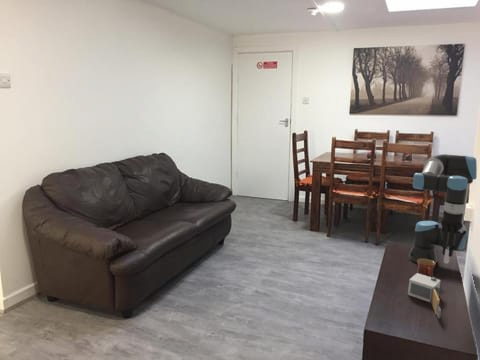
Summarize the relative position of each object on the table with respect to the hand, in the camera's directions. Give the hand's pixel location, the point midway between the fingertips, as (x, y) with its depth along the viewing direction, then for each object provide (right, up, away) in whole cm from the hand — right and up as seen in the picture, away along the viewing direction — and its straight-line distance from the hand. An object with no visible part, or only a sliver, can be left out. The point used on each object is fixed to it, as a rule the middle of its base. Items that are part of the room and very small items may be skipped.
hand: (446, 262), depth 176 cm
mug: (+4, -16, +30) cm, 34 cm away
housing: (-3, -19, +15) cm, 25 cm away
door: (-5, -22, 0) cm, 23 cm away
